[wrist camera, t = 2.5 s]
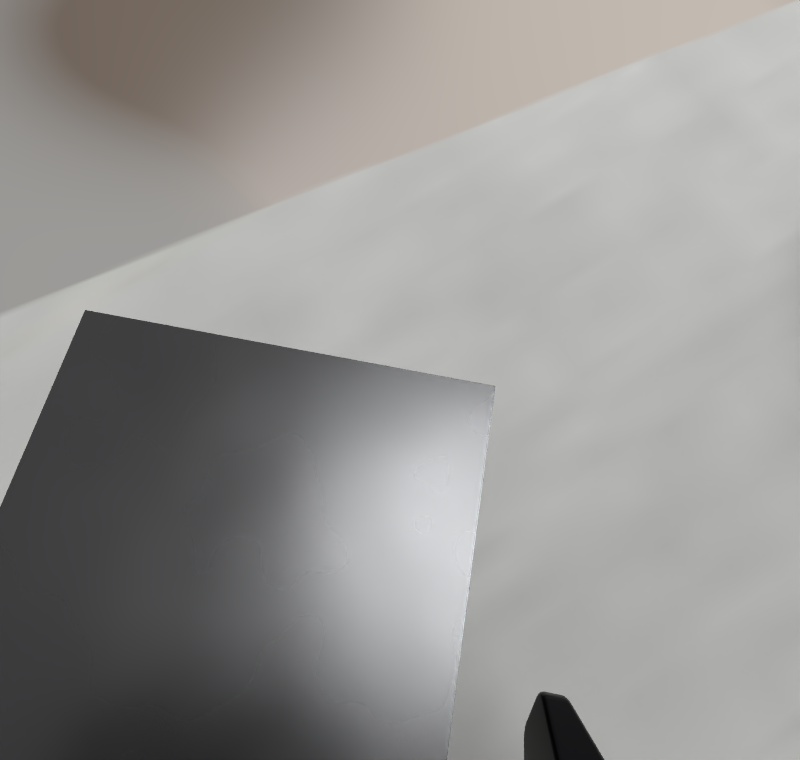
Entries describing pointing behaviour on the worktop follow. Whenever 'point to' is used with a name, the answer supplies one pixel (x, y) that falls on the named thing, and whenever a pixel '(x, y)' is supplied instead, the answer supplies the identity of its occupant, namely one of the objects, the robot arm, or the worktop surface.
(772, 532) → the worktop surface
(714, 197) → the worktop surface
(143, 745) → the brushed metal block
